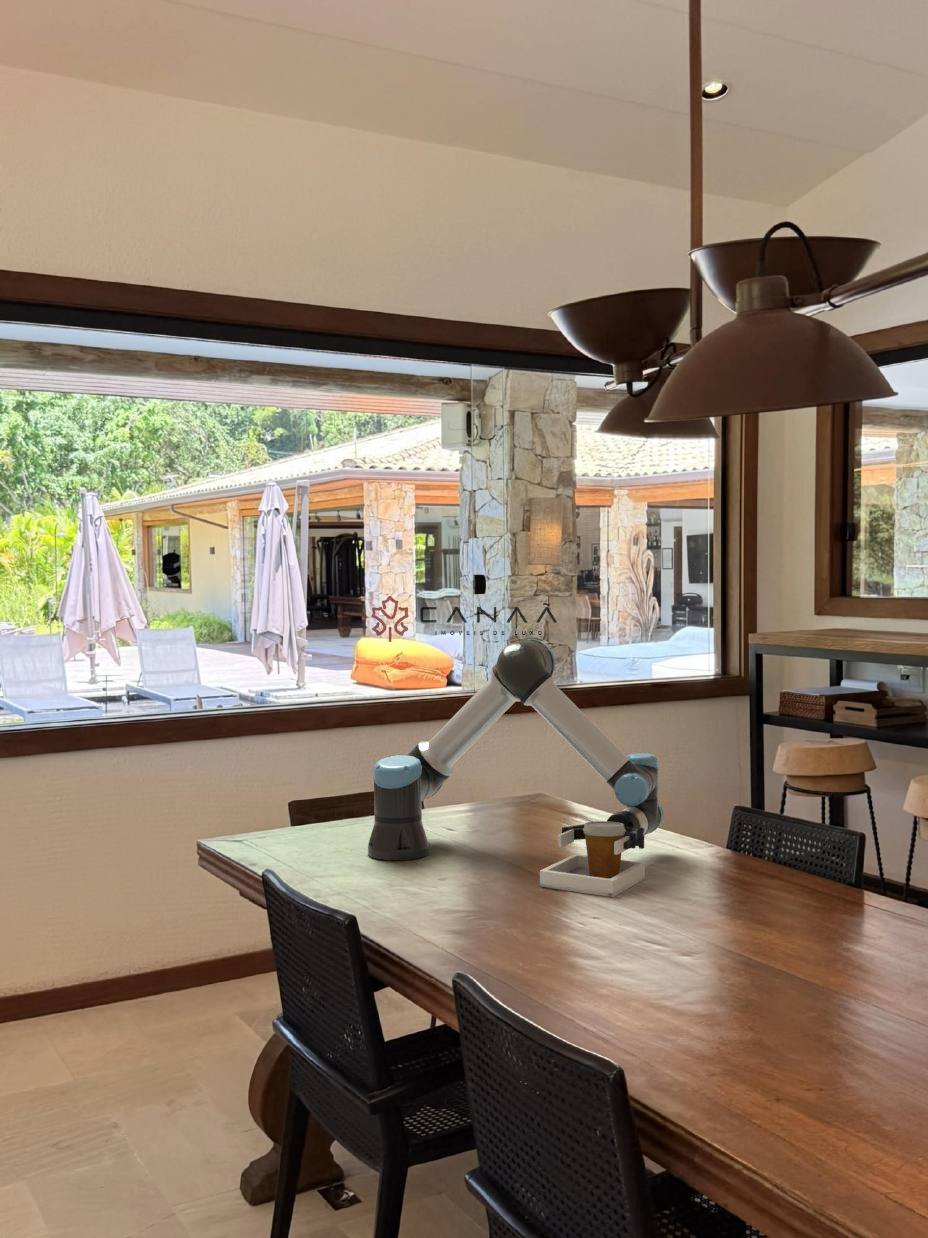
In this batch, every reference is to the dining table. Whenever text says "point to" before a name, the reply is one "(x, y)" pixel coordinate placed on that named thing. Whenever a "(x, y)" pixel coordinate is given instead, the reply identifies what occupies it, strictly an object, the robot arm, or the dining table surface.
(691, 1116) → the dining table surface
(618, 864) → the disposable coffee cup
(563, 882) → the square well
